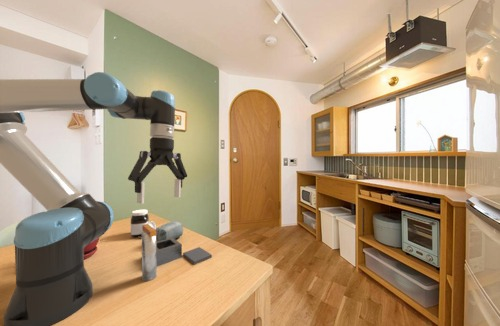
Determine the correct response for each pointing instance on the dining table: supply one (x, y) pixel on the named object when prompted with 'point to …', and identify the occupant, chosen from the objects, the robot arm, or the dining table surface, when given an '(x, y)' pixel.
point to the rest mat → (197, 255)
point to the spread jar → (140, 222)
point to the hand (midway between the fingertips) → (160, 199)
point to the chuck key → (149, 253)
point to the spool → (169, 231)
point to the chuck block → (168, 251)
